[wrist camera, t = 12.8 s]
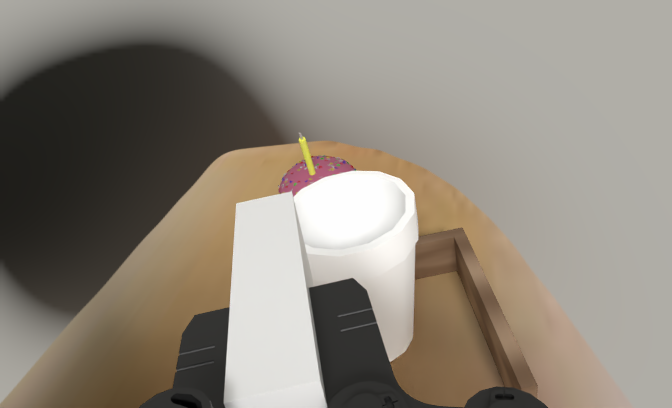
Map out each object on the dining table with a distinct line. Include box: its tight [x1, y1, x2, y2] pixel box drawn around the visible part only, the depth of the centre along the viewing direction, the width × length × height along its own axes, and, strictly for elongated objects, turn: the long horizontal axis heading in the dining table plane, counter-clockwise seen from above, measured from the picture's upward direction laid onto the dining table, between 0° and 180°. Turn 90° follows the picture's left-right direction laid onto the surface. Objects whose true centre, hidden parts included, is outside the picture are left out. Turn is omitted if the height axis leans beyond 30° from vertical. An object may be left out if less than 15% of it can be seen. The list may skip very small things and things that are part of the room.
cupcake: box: [278, 133, 356, 197], centre depth 53 cm, size 9×8×12 cm
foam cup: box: [293, 171, 418, 362], centre depth 39 cm, size 10×9×13 cm
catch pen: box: [415, 228, 538, 398], centre depth 40 cm, size 16×17×4 cm
